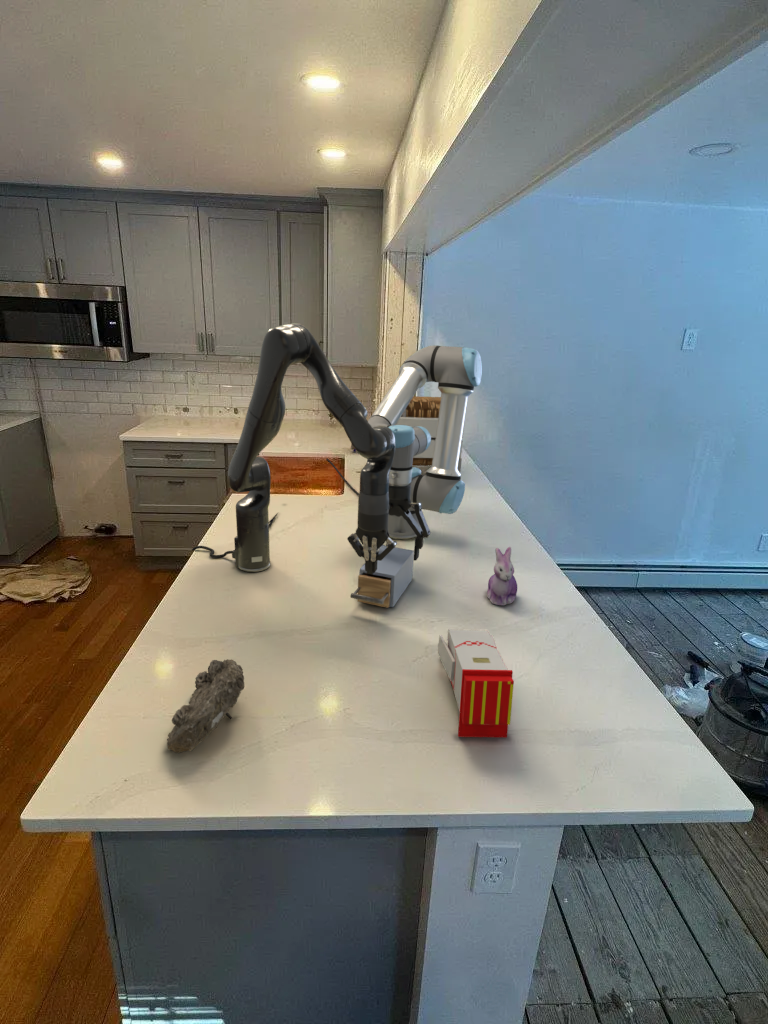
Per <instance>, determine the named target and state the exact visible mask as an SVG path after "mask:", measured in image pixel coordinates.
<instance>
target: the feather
mask: <svg viewBox="0 0 768 1024" xmlns="http://www.w3.org/2000/svg"><path fill="white" fill-rule="evenodd" d="M278 513H279V512H277V513H276V514H275V515H274V516H273V517H272V518H271V519H269V528H271V526H272V524H273V523H274V521H275V520H276V517H277V516H278Z"/></svg>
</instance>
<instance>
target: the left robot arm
mask: <svg viewBox="0 0 768 1024" xmlns="http://www.w3.org/2000/svg"><path fill="white" fill-rule="evenodd" d="M297 364H301V365H302V366H303V367H304V368H305V369H307V371H309V372H310V374H311V375H312V377H313V379H314V380H315V382H316V385H317V388H318V392H319V395H320V398H321V401H322V403H323V405H324V407H325V408H326V409H327V411H328V412H329V413H330V414H331V416H332V417H333V418H334V419H335V421H337V422H338V423H339V425H340V426H341V427H342V428H343V429H344V432H345V435H346V437H347V438H348V440H349V441H350V444H351V443H352V445H353V447H354V448H355V450H356V451H355V452H356V453H358V454H359V455H360V456H361V457H362V458H364V459H366V463H365V465H364V466H363V467H362V468H361V470H360V475H359V492H358V493H359V496H358V498H357V527H356V529H355V532H354V533H351V534H350V535H348V536H347V541H348V543H349V544H350V546H351V547H352V549H353V550H354V552H355V554H357V557H359V558H363V560H364V564H365V571H367V574H372V575H373V573H375V572H376V570H377V561H378V560H379V561H381V560H382V559H383V558H384V557H385V556H386V555H387V554H388V553H389V552H390V551H391V550H392V549H393V548H394V547H397V545H398V542H397V540H394V539H391V538H390V537H389V532H388V516H389V473H390V469H391V466H392V462H393V458H394V453H395V446H396V442H395V436H394V434H393V432H392V430H391V429H390V428H388V427H387V426H383V425H380V426H376V427H373V428H372V427H371V425H370V424H369V423H368V420H367V417H368V410H367V408H366V406H364V404H363V403H362V402H361V401H360V399H359V398H358V397H357V396H356V395H355V394H354V392H352V390H351V389H350V388H349V387H348V386H347V385H346V384H345V382H344V381H343V380H342V378H341V377H340V376H339V374H338V373H337V371H336V369H335V368H334V367H333V365H332V364H331V362H330V360H329V359H328V357H327V355H326V354H325V352H324V351H323V350H322V347H321V346H320V344H319V343H318V341H317V340H316V337H314V335H313V333H311V331H310V330H309V329H308V328H307V327H306V326H305V325H303V324H301V323H298V322H291V323H286V324H281V325H277V326H273V327H271V328H270V329H269V330H267V332H265V335H264V337H263V340H262V343H261V350H260V356H259V362H258V369H257V374H256V379H255V382H254V386H253V391H252V395H251V398H250V400H249V401H250V402H249V404H248V408H247V412H246V415H245V418H244V419H245V420H244V424H243V427H242V429H241V430H242V431H241V434H240V437H239V440H238V443H237V445H236V447H235V450H234V451H233V452H234V453H233V455H232V458H231V459H230V462H229V465H228V469H227V483H228V486H229V487H230V489H231V490H232V491H233V492H235V493H247V492H248V493H247V494H246V495H245V496H244V497H242V498H241V499H239V500H238V501H237V502H236V504H235V519H236V520H235V521H236V536H235V537H234V538H233V539H234V549H233V550H227V551H224V553H222V554H214V553H215V549H213V548H211V547H209V546H205V545H195V546H194V547H192V548H191V551H196V550H198V549H202V550H206V551H209V552H210V553H209V557H211V558H214V559H220V558H224V557H226V556H227V555H230V554H231V557H232V559H235V560H234V562H235V568H238V569H239V570H241V571H243V572H247V573H257V572H263V571H265V570H267V569H269V568H270V566H271V555H270V554H271V553H270V552H271V551H270V549H271V548H270V527H269V524H270V523H269V521H270V519H269V515H270V514H269V507H270V503H271V484H272V483H271V479H272V477H271V469H270V466H269V463H268V461H267V460H266V459H265V458H264V457H262V456H259V454H260V453H261V452H262V451H263V450H264V449H265V448H266V447H267V446H268V445H269V444H270V443H271V442H272V441H273V440H274V439H275V437H277V435H278V433H279V432H280V430H281V427H282V424H283V421H284V418H285V415H286V401H285V398H284V394H283V392H282V391H283V390H282V385H283V381H284V378H285V375H286V373H287V371H288V368H289V367H291V366H292V365H297ZM384 544H385V546H386V547H387V548H386V549H385V550H384V551H383V552H382V553H380V554H379V550H380V547H381V546H382V545H384Z"/></svg>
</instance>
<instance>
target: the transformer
mask: <svg viewBox="0 0 768 1024" xmlns="http://www.w3.org/2000/svg"><path fill="white" fill-rule="evenodd" d="M440 393H441V392H440ZM441 395H442V393H441V394H440V396H415V395H414V396H413V398H412V399H411V401H410V403H409V404H408V406H407V407H406V409H405V410H404V412H403V414H402V415H401V417H400V418H399V420H398V422H397V423H396V425H406V426H410V427H415V426H416V427H417V426H420V427H424V428H425V429H427V430H428V432H429V433H430V436H431V443H430V446H429V447H428V448H427V449H426V450H425V451H424V452H423V453H421V454H418V455H416V456H414V457H413V464H412V467H417V466H418V467H431V466H432V461H433V453H434V446H435V439H436V432H437V424H438V417H439V410H440V402H441ZM464 422H465V419H464ZM464 429H465V425H464V426H463V433H462V439H463V438H464V431H465V430H464ZM463 442H464V441H463V440H461V447H460V454H459V461H458V467H457V470H458V471H459V473H460V474H461V472H462V461H463V460H462V453H463ZM461 475H462V474H461Z"/></svg>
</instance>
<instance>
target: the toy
mask: <svg viewBox="0 0 768 1024" xmlns="http://www.w3.org/2000/svg"><path fill="white" fill-rule="evenodd" d="M446 640H447V643H446V641H445V639H444V636H443V635H442V634H439V637H438V646H437V656H438V657H439V659H440V661H441V663H442V666H443V668H444V670H445V672H446V674H447V677H448V679H449V681H450V684H451V687H452V690H453V693H454V697H455V701H456V705H457V708H458V711H459V714H458V715H459V716H458V730H457V731H458V732H457V737H458V738H508V731H509V726H510V725H511V717H512V707H513V697H514V696H513V695H514V684H515V680H514V679H513V673H514V671H513V670H512V669H508V667H507V665H506V662H505V661H504V659H503V658H502V655H501V653H500V651H499V649H498V647H497V643H496V639H495V637H494V635H493V634H491V632H490V631H489V629H467V628H466V629H465V628H463V629H461V628H460V629H459V628H448V630H447V639H446Z"/></svg>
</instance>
